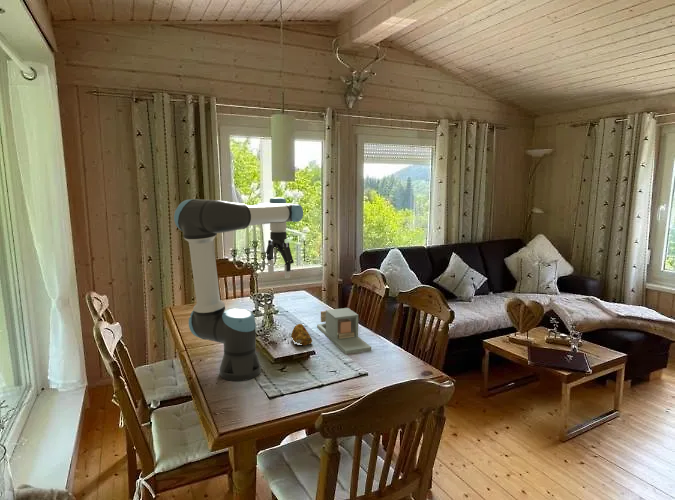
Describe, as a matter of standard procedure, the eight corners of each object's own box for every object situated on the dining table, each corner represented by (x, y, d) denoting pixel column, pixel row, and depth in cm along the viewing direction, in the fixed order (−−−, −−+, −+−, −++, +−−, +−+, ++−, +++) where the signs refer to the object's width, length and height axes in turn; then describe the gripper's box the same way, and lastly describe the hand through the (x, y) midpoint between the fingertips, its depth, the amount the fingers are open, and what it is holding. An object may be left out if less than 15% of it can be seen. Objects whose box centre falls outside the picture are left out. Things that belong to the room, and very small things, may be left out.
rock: (310, 349, 194) (315, 339, 186) (294, 355, 190) (298, 346, 182) (300, 328, 199) (305, 318, 191) (284, 334, 195) (288, 324, 187)
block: (350, 334, 194) (351, 321, 193) (340, 335, 192) (340, 322, 191) (345, 329, 199) (345, 317, 198) (335, 331, 197) (335, 318, 196)
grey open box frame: (354, 336, 193) (354, 325, 193) (338, 339, 191) (338, 327, 190) (333, 320, 217) (333, 310, 217) (319, 321, 215) (319, 311, 214)
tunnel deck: (371, 350, 183) (371, 323, 181) (345, 354, 178) (346, 326, 176) (339, 324, 216) (339, 301, 214) (317, 327, 211) (317, 304, 209)
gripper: (301, 233, 191) (301, 279, 195) (270, 228, 209) (270, 270, 213) (287, 234, 186) (288, 281, 190) (257, 229, 204) (258, 272, 208)
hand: (279, 275), depth 201 cm, fingers open, 13 cm apart
